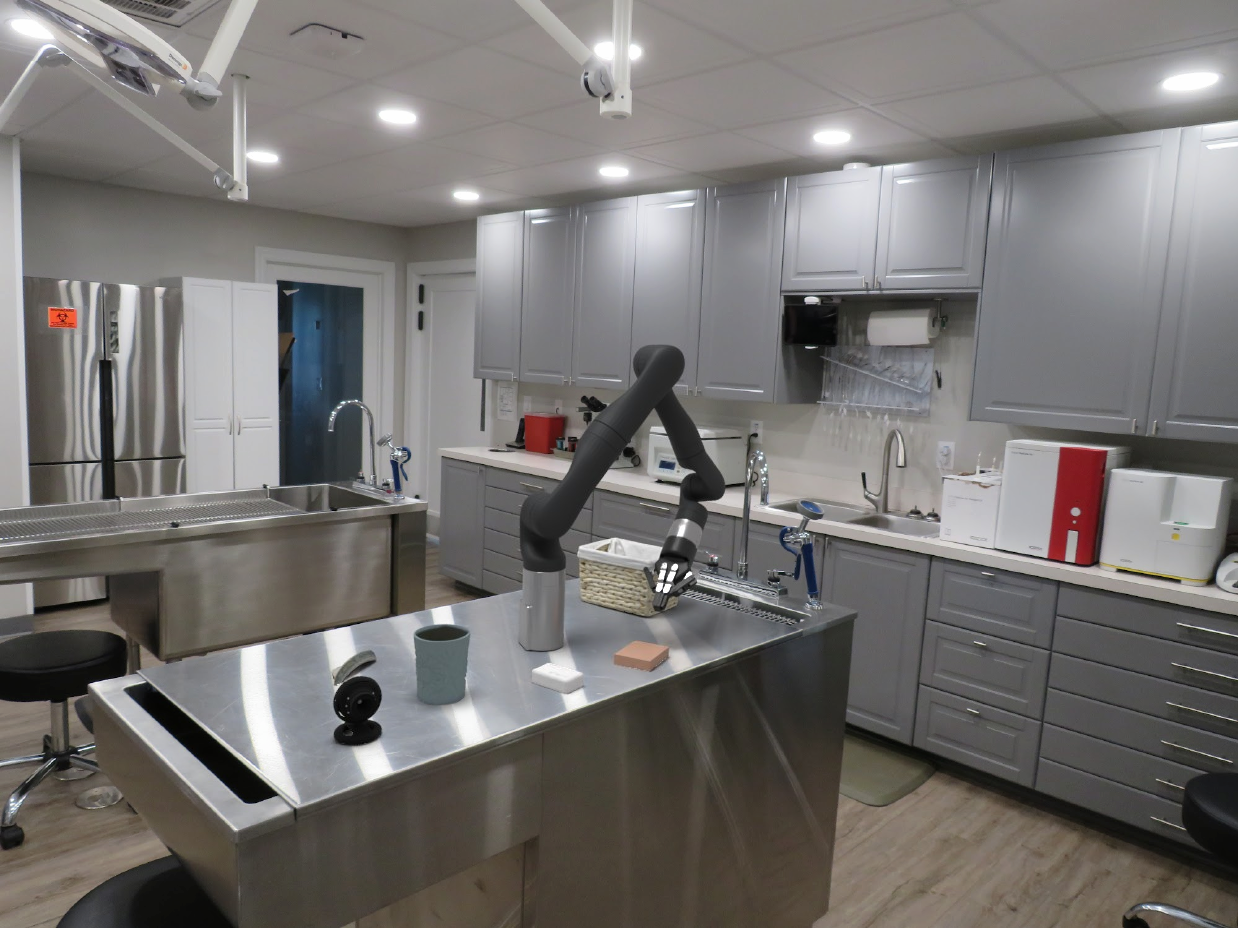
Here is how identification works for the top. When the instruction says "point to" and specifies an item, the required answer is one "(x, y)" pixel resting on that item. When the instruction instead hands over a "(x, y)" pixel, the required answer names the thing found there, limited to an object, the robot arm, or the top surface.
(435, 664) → the green ceramic cup
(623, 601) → the storage basket
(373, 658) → the ceramic fragment
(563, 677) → the soap
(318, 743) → the top surface
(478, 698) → the top surface
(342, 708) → the webcam
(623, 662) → the terracotta tile
